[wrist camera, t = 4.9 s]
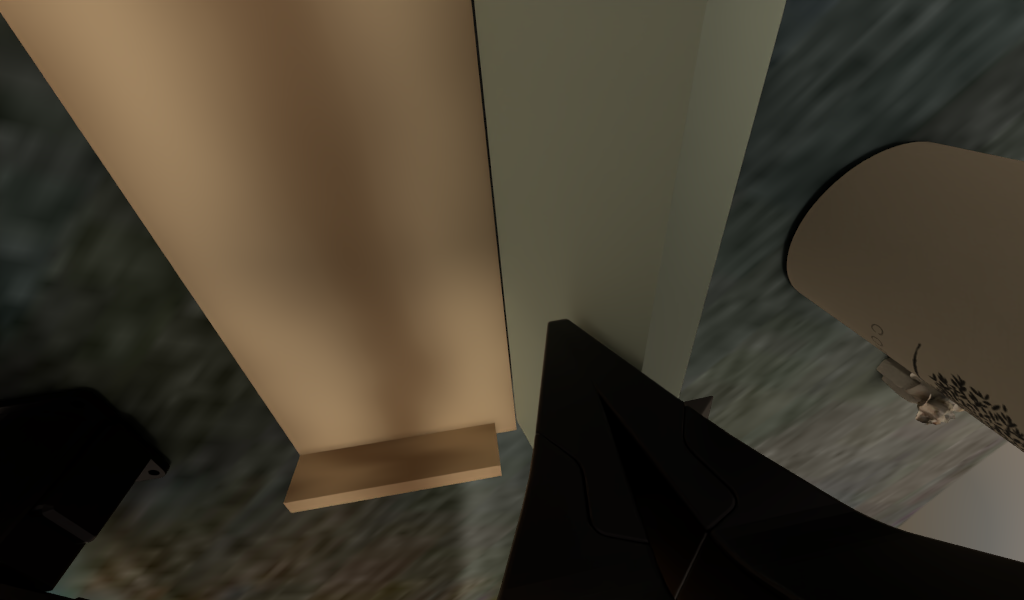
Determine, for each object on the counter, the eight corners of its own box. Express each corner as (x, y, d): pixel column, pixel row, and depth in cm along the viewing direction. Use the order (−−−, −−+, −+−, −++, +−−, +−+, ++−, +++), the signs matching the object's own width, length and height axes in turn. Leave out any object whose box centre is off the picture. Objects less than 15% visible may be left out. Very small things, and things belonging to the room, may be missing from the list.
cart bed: (323, 413, 20) (291, 513, 16) (16, -141, 9) (-387, -310, 5) (508, 384, 21) (523, 471, 17) (446, -161, 10) (447, -323, 5)
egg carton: (855, 379, 26) (914, 429, 23) (934, 288, 22) (1020, 333, 19) (974, 375, 28) (1045, 421, 25) (1067, 290, 24) (1168, 331, 21)
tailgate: (516, 419, 18) (605, 577, 12) (458, -155, 8) (824, -669, 2) (550, 405, 18) (648, 550, 13) (538, -149, 8) (991, -548, 3)
